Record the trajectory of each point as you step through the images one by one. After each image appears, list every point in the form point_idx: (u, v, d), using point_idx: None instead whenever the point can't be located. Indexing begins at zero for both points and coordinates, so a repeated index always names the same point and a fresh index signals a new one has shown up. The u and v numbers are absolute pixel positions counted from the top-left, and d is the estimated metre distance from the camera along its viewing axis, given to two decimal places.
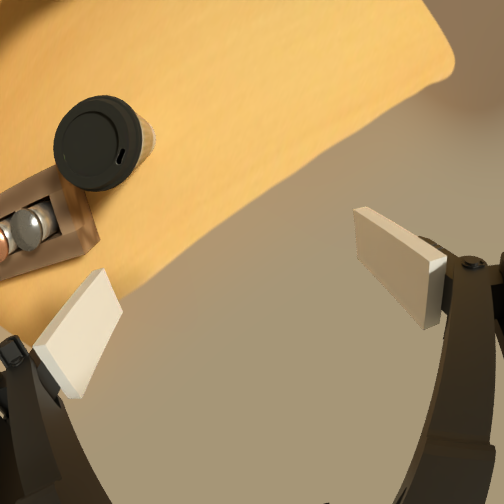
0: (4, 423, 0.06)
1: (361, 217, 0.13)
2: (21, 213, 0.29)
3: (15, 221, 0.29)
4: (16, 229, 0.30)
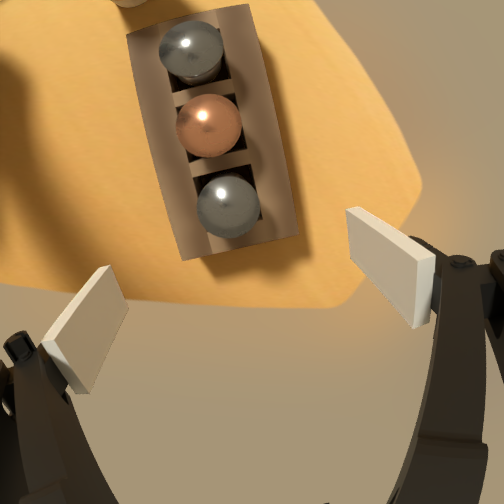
0: (10, 420, 0.06)
1: (352, 217, 0.13)
2: (164, 49, 0.20)
3: (174, 62, 0.21)
4: (186, 62, 0.21)
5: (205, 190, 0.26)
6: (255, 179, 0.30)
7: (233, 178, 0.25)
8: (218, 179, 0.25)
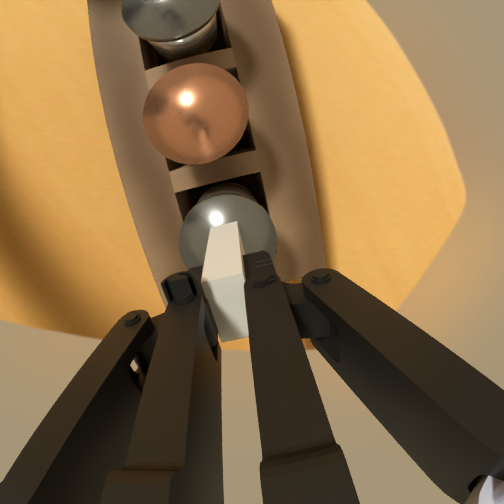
0: (133, 387, 0.08)
1: (224, 232, 0.15)
2: (129, 3, 0.11)
3: (143, 20, 0.12)
4: (162, 19, 0.12)
5: (191, 217, 0.16)
6: (267, 195, 0.20)
7: (235, 197, 0.16)
8: (211, 199, 0.16)
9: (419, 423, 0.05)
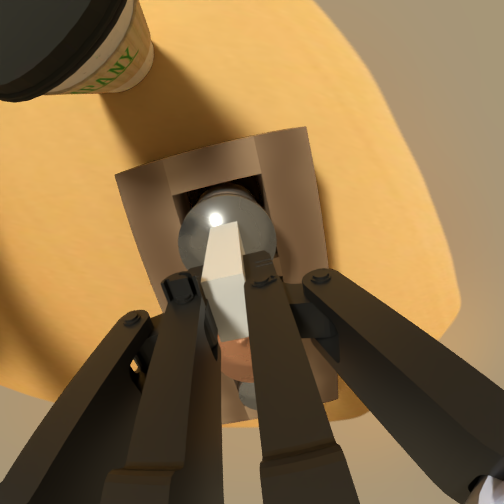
0: (133, 387, 0.08)
1: (224, 232, 0.15)
2: (186, 245, 0.17)
3: None
4: None
5: None
6: None
7: None
8: None
9: (419, 423, 0.05)
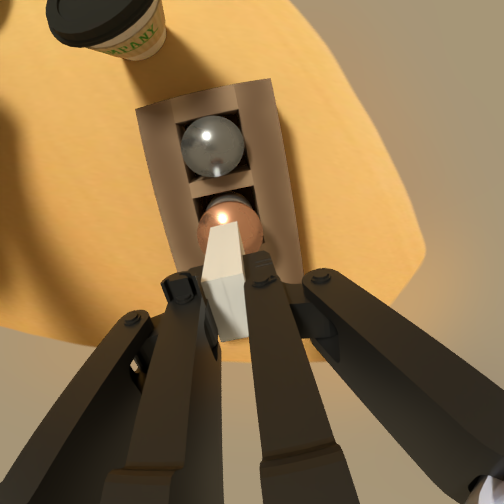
0: (133, 387, 0.08)
1: (224, 232, 0.15)
2: (186, 146, 0.25)
3: (196, 162, 0.26)
4: (209, 163, 0.26)
5: None
6: None
7: None
8: None
9: (419, 423, 0.05)
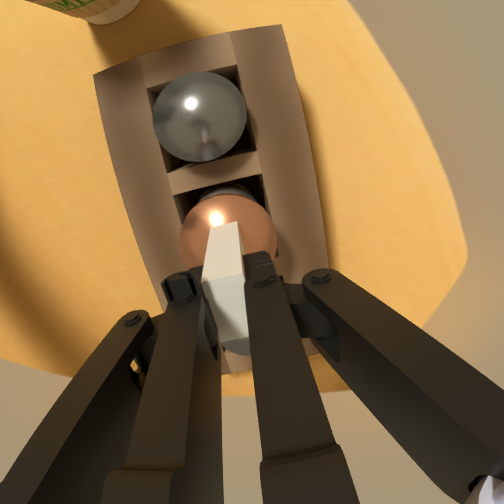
0: (133, 387, 0.08)
1: (224, 232, 0.15)
2: (160, 117, 0.16)
3: (176, 140, 0.17)
4: (194, 140, 0.17)
5: None
6: None
7: None
8: None
9: (419, 423, 0.05)
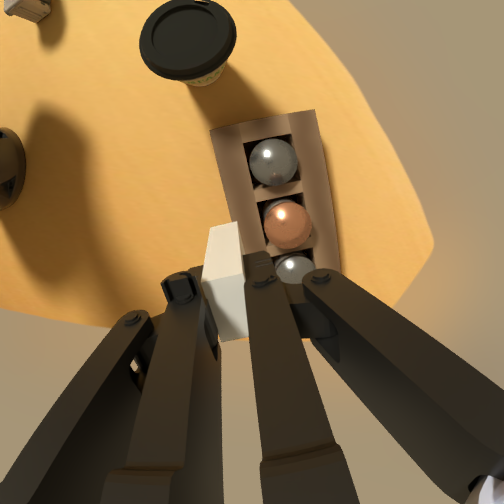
0: (133, 387, 0.08)
1: (224, 232, 0.15)
2: (253, 162, 0.34)
3: (262, 174, 0.34)
4: (271, 175, 0.34)
5: (282, 265, 0.39)
6: (315, 258, 0.40)
7: (301, 258, 0.38)
8: (291, 258, 0.38)
9: (419, 423, 0.05)
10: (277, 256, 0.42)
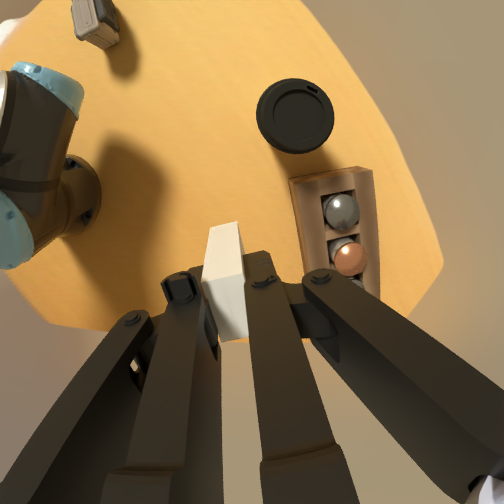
0: (133, 387, 0.08)
1: (224, 232, 0.15)
2: (329, 212, 0.45)
3: (334, 221, 0.45)
4: (341, 221, 0.45)
5: None
6: (363, 280, 0.51)
7: (355, 281, 0.49)
8: None
9: (419, 423, 0.05)
10: None
